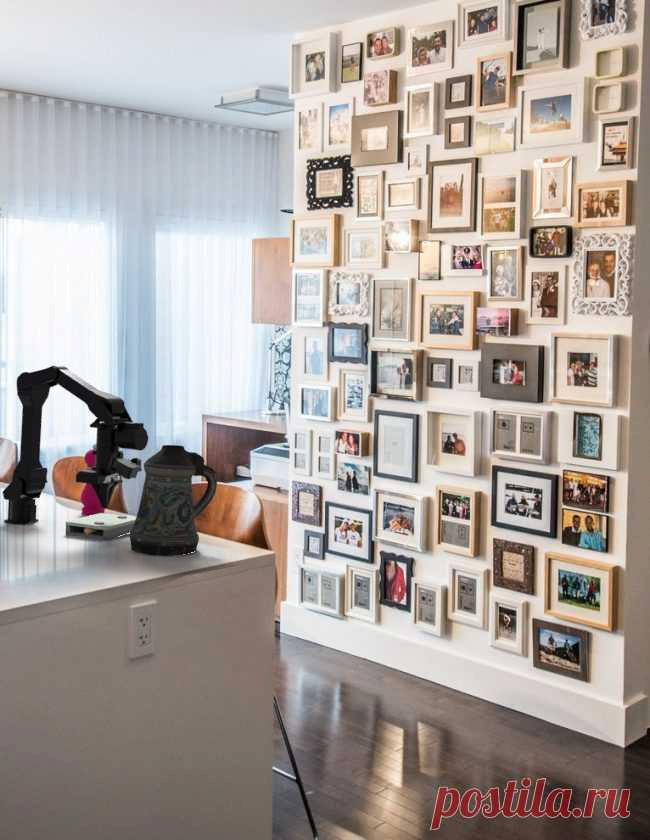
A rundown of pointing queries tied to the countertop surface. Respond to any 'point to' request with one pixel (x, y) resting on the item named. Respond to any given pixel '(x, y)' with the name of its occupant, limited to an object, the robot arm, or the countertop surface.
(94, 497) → the pepper mill
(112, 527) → the cover
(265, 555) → the countertop surface
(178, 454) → the beer stein
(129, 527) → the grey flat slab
